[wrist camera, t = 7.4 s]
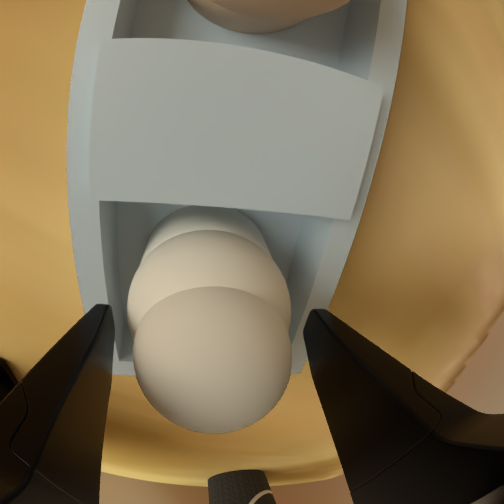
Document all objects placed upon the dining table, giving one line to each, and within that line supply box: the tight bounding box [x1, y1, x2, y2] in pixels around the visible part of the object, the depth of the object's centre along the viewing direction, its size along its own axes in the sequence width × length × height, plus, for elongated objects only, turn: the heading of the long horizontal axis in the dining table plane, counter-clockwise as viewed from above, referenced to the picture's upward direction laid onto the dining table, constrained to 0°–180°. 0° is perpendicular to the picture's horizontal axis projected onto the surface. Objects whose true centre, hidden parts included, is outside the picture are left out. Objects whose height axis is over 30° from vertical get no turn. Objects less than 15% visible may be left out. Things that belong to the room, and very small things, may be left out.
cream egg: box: [127, 205, 292, 434], centre depth 8 cm, size 5×5×6 cm
